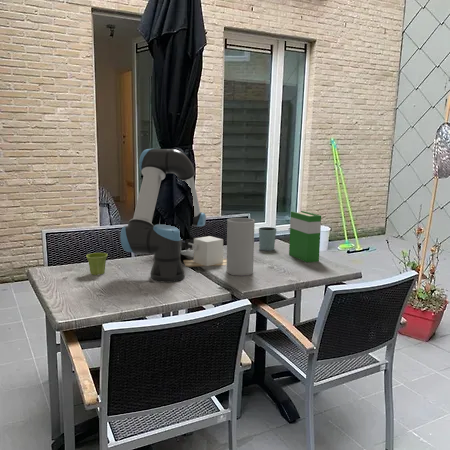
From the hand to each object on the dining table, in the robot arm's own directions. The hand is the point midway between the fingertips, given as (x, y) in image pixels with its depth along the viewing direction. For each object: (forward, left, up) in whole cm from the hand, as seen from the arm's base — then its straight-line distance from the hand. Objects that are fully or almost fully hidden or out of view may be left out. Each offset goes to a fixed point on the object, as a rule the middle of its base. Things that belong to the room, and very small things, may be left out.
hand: (207, 245), depth 227 cm
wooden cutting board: (-2, 0, -9) cm, 9 cm away
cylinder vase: (-20, -12, -9) cm, 25 cm away
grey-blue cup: (+26, -39, -9) cm, 48 cm away
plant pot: (-12, +53, -9) cm, 55 cm away
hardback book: (+3, -53, -9) cm, 53 cm away
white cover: (-1, 0, -8) cm, 8 cm away
